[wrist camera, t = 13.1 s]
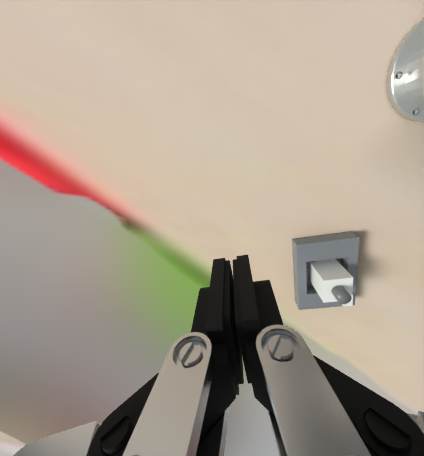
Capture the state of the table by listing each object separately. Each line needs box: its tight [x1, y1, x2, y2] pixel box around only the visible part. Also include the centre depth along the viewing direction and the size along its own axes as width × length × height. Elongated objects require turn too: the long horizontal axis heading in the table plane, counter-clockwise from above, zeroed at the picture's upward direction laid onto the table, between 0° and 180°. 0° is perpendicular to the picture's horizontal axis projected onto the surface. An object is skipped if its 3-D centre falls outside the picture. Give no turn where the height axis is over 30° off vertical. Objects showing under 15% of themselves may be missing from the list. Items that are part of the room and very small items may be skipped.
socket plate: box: [292, 232, 360, 310], centre depth 37 cm, size 10×14×3 cm
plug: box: [310, 259, 353, 304], centre depth 35 cm, size 4×4×8 cm
